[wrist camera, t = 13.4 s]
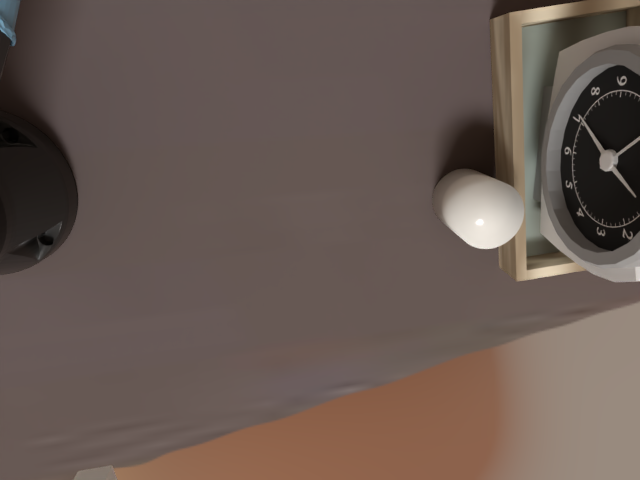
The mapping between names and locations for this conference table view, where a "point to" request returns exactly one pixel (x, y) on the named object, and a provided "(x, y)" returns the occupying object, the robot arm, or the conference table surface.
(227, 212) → the conference table surface
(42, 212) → the robot arm
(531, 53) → the tray
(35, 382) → the conference table surface
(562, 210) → the alarm clock
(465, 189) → the white rounded cylinder
